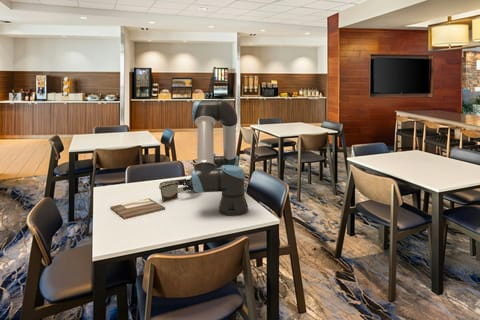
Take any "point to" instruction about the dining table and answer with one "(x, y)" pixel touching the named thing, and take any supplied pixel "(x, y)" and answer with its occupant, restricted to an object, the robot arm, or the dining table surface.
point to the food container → (169, 190)
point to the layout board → (137, 208)
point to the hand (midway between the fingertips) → (170, 188)
